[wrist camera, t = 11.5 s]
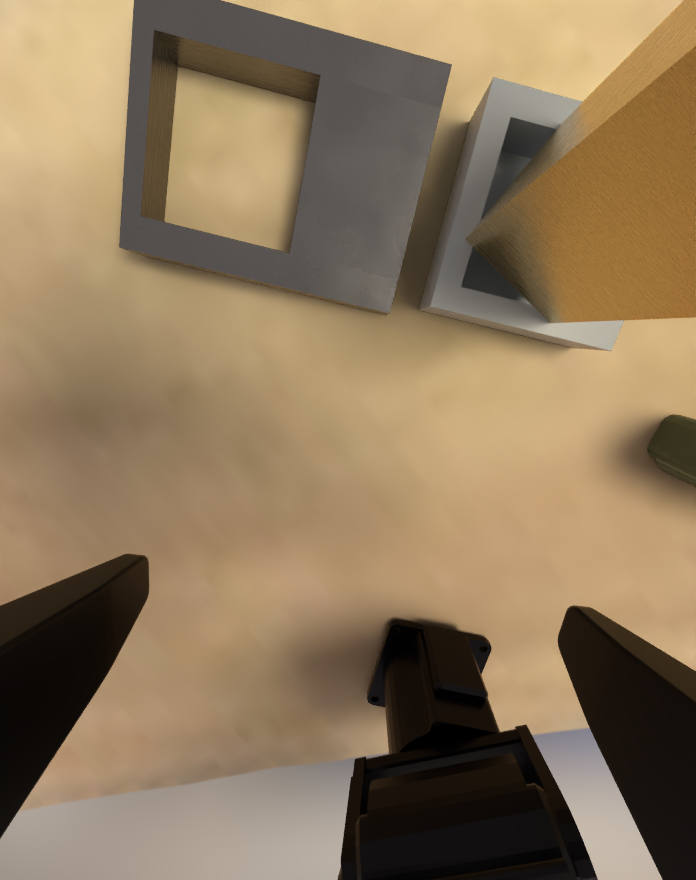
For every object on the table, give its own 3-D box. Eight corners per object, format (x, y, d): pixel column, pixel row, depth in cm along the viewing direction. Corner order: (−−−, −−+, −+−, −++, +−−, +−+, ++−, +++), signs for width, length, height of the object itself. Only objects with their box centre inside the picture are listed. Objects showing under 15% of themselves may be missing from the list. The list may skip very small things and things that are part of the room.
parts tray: (572, 347, 19) (611, 350, 16) (418, 309, 19) (430, 306, 16) (641, 168, 17) (700, 134, 14) (469, 121, 17) (493, 77, 14)
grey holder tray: (440, 95, 16) (451, 64, 14) (386, 315, 19) (389, 313, 17) (162, 19, 16) (135, -24, 14) (143, 256, 18) (119, 247, 16)
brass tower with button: (550, 323, 16) (1088, 300, 4) (465, 238, 15) (839, -75, 3) (647, 220, 15) (1731, -190, 3) (561, 123, 14) (1587, -908, 2)
